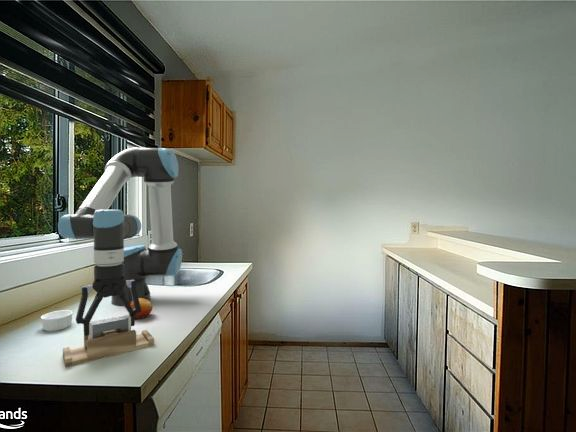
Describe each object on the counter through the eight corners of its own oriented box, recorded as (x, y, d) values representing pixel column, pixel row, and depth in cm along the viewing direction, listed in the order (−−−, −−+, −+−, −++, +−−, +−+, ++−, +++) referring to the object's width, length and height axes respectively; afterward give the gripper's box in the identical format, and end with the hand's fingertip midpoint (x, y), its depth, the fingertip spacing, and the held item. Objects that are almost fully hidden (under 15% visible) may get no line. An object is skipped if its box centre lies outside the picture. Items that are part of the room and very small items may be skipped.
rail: (62, 355, 90) (62, 336, 90) (146, 335, 104) (146, 319, 104) (65, 367, 84) (64, 347, 84) (154, 344, 97) (154, 327, 97)
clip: (91, 344, 92) (91, 321, 92) (126, 336, 98) (126, 315, 97) (92, 348, 90) (92, 325, 90) (128, 340, 95) (128, 318, 95)
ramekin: (52, 333, 105) (52, 320, 105) (34, 329, 108) (34, 316, 108) (79, 324, 113) (78, 311, 113) (61, 320, 116) (61, 308, 116)
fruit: (124, 311, 122) (136, 292, 123) (143, 320, 125) (155, 301, 126) (122, 318, 114) (135, 298, 116) (143, 327, 117) (155, 307, 119)
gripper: (64, 270, 83) (65, 357, 84) (152, 261, 96) (153, 336, 97) (61, 265, 89) (63, 346, 90) (146, 258, 102) (146, 328, 103)
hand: (110, 341), depth 94 cm, fingers closed on clip, 9 cm apart
